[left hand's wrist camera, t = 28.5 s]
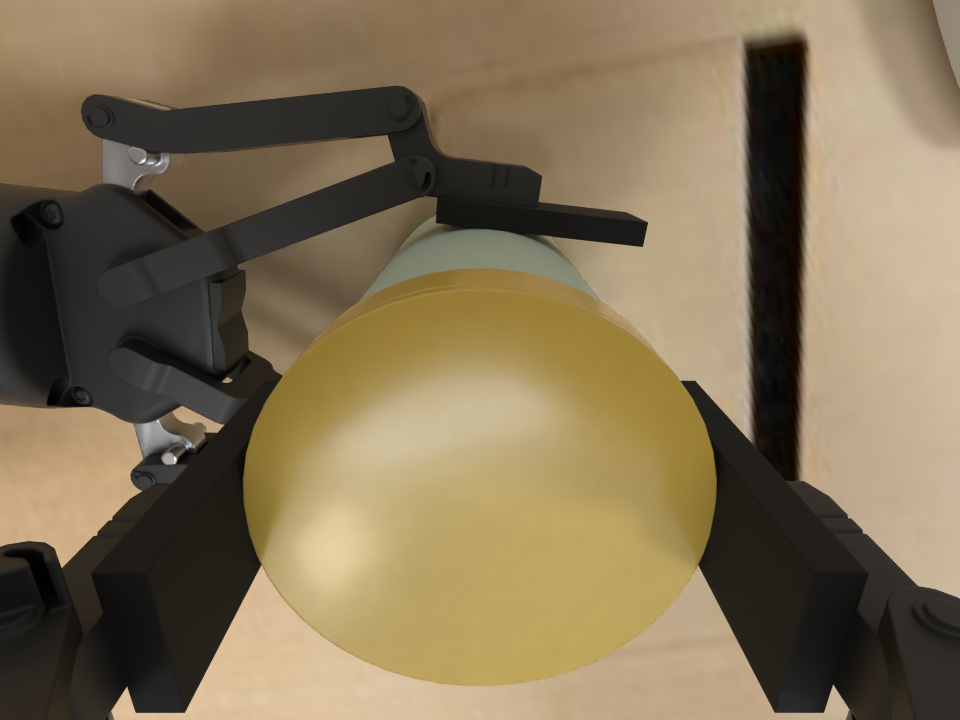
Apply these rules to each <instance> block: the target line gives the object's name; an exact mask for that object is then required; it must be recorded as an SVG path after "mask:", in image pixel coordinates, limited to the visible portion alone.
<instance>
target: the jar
mask: <svg viewBox="0 0 960 720" xmlns="http://www.w3.org/2000/svg"><path fill="white" fill-rule="evenodd" d="M457 269H502V270H510V271H518V272H526V273H530V274H533V275H537V276H541V277H545V278H549V279H552V280H556V281H558V282H561V283H563V284H566V285H568V286H570V287H573V288H575V289H578V290H580V291H583V292H584V293H586V294H588V295H590V296H591V297H593V298H595V299H597V300H598V301H600V300H599V298H598V297H597V296H596V294H595V293H594V292H593V290H592V289H591V288H590V286H589V285H588V284H587V283H586V281H585V280H584V279H583V277H582V276H581V275H580V273H579V272H578V271H577V269H576V268H575V267H574V266H573V264H572V263H571V262H570V260H569V259H568V258H567V256H566V255H565V254H564V252H563V251H562V250H561V249H560V247H559V246H558V245H557V243H556V242H555V241H554V239H553V238H552V237H551V236H543V235H534V234H525V233H516V232H508V231H499V230H490V229H481V228H473V227H464V226H455V225H446V224H437V223H436V215H435V216H433V217H431V218H430V219H428V220H426V221H425V222H424V223H422V224H421V225H420V226H419V227H418V228H416V229H415V230H414V231H413V233H412V234H411V235H410V236H409V237H408V238H407V239H406V241H405V242H404V243H403V244H402V246H401V247H400V248H399V250H398V251H397V252H396V254H395V255H394V256H393V258H392V259H391V260H390V261H389V263H388V264H387V265H386V267H385V268H384V269H383V271H382V272H381V273H380V275H379V276H378V277H377V278H376V280H375V281H374V282H373V284H372V285H371V286H370V288H369V289H368V290H367V292H366V293H365V294H364V295H363V297H362V298H361V299H360V301H362V300H363V299H365V298H367V297H368V296H370V295H372V294H373V293H375V292H378V291H380V290H382V289H385V288H387V287H389V286H392V285H394V284H397V283H399V282H401V281H404V280H408V279H412V278H415V277H419V276H423V275H426V274H430V273H435V272H442V271H450V270H457ZM360 301H359V302H360ZM600 302H601V301H600Z"/></svg>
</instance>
